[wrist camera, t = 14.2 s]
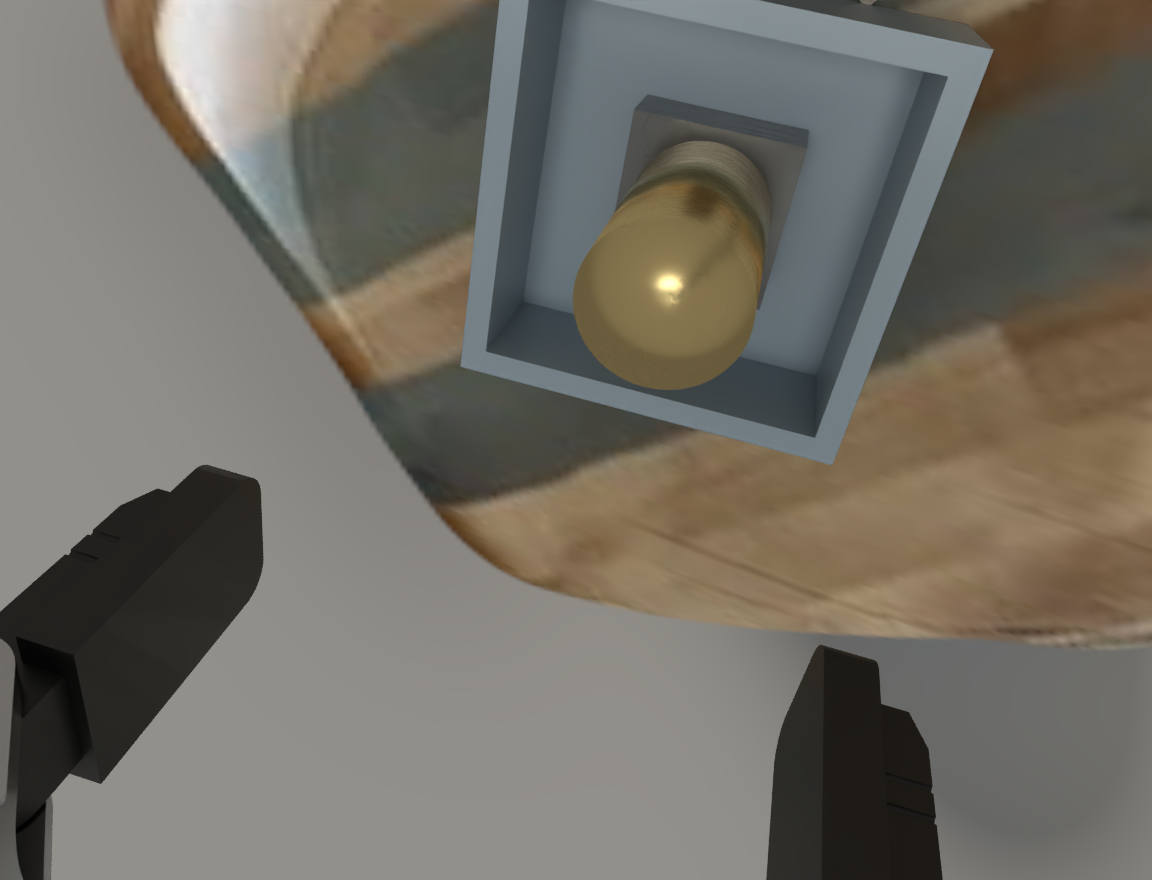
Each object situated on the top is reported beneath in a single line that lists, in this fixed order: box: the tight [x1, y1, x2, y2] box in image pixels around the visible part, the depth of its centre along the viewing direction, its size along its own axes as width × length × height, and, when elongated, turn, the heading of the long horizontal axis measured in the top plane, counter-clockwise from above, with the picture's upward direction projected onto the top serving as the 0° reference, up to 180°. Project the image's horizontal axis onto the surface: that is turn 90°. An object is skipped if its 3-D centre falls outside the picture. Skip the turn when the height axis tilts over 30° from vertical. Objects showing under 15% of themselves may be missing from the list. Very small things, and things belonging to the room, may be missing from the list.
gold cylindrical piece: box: [573, 94, 809, 390], centre depth 26 cm, size 5×5×10 cm
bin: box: [461, 0, 993, 465], centre depth 29 cm, size 13×13×5 cm
